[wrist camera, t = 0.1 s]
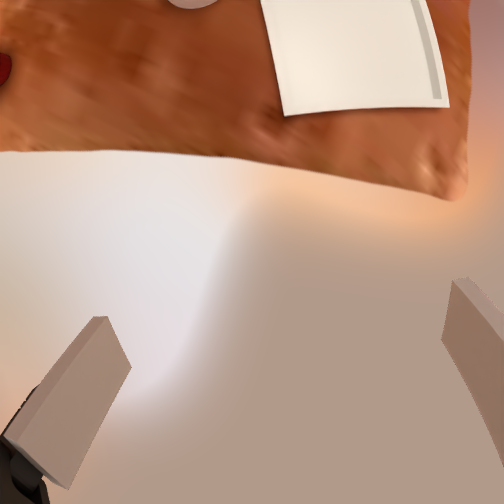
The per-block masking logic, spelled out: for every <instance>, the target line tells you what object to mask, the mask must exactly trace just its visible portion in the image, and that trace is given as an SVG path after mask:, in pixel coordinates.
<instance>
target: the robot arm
mask: <svg viewBox="0 0 504 504" xmlns="http://www.w3.org/2000/svg"><path fill="white" fill-rule="evenodd" d="M441 340H442V342H443V344H444V345H445V347H446V349H447V351H448V352H449V354H450V355H451V357H452V359H453V361H454V363H455V365H456V366H457V368H458V370H459V372H460V373H461V375H462V377H463V379H464V381H465V383H466V385H467V387H468V389H469V391H470V393H471V395H472V397H473V399H474V401H475V403H476V405H477V407H478V409H479V411H480V413H481V415H482V417H483V419H484V422H485V424H486V426H487V428H488V430H489V432H490V435H491V437H492V439H493V442H494V444H495V447H496V449H497V451H498V454H499V456H500V459H501V461H502V464H503V467H504V314H503V313H502V312H501V311H500V310H499V309H498V308H497V307H496V305H495V304H494V303H493V302H492V301H491V300H490V299H489V298H488V297H487V296H486V295H485V294H484V293H483V292H482V290H481V289H480V288H479V287H478V286H477V285H476V284H475V283H474V282H473V281H472V280H471V279H470V278H469V277H466V278H462V279H456V280H452V286H451V292H450V299H449V304H448V310H447V315H446V320H445V325H444V330H443V335H442V339H441ZM131 368H132V367H131V365H130V363H129V361H128V359H127V357H126V355H125V353H124V351H123V349H122V347H121V345H120V343H119V341H118V338H117V336H116V334H115V332H114V330H113V328H112V325H111V323H110V321H109V319H108V317H107V316H104V317H93V318H92V319H91V320H90V321H89V323H88V324H87V325H86V326H85V327H84V329H83V330H82V331H81V332H80V333H79V335H78V336H77V337H76V338H75V340H74V341H73V342H72V343H71V344H70V346H69V347H68V348H67V349H66V351H65V352H64V353H63V354H62V356H61V357H60V358H59V359H58V361H57V362H56V363H55V364H54V366H53V367H52V368H51V370H50V371H49V372H48V374H47V375H46V376H45V377H44V379H43V380H42V382H41V383H40V384H39V385H38V386H36V387H35V388H34V389H33V390H32V391H31V393H30V394H29V395H28V397H27V398H26V401H24V402H23V404H22V405H21V408H20V409H18V411H17V412H16V413H15V415H14V416H13V418H12V419H11V420H10V422H9V423H8V425H7V426H6V428H5V429H4V431H3V432H2V434H1V435H0V504H50V501H49V497H48V492H47V487H46V484H45V482H44V481H43V480H42V479H41V478H42V476H43V475H44V476H46V477H47V478H48V479H49V480H50V481H52V482H53V483H54V484H56V485H59V486H61V487H63V488H65V489H68V490H69V488H70V486H71V484H72V482H73V480H74V478H75V476H76V474H77V471H78V470H79V468H80V466H81V463H82V461H83V459H84V457H85V455H86V453H87V451H88V449H89V447H90V445H91V443H92V441H93V439H94V437H95V435H96V433H97V431H98V430H99V427H100V426H101V424H102V422H103V420H104V418H105V416H106V414H107V412H108V410H109V408H110V406H111V405H112V403H113V401H114V399H115V397H116V395H117V393H118V391H119V390H120V387H121V386H122V384H123V382H124V380H125V379H126V377H127V375H128V373H129V371H130V370H131Z"/></svg>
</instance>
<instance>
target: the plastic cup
mask: <svg viewBox="0 0 504 504" xmlns="http://www.w3.org/2000/svg"><path fill="white" fill-rule="evenodd" d="M10 71H11V59H10V57H9V56H7V55H6V54H3V53H0V85H2V84H3V83H4V82H5V81H6V80H7V78H8V76H9V73H10Z"/></svg>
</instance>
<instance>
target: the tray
mask: <svg viewBox="0 0 504 504" xmlns="http://www.w3.org/2000/svg"><path fill="white" fill-rule="evenodd" d="M260 2H261V6H262V10H263V15H264V19H265V23H266V28H267V32H268V37H269V42H270V46H271V51H272V56H273V61H274V66H275V71H276V76H277V81H278V86H279V91H280V97H281V102H282V108H283V113H284V117H286V116H294V115H302V114H311V113H320V112H330V111H342V110H356V109H375V108H450V106H449V99H448V92H447V86H446V80H445V75H444V70H443V65H442V60H441V55H440V51H439V47H438V43H437V39H436V35H435V31H434V27H433V24H432V20H431V17H430V14H429V10H428V7H427V4H426V1H425V0H260Z"/></svg>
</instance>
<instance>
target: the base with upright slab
mask: <svg viewBox="0 0 504 504" xmlns="http://www.w3.org/2000/svg"><path fill="white" fill-rule="evenodd" d="M168 1H169V2H170V3H172V4H174V5H175V6H177V7H181V8H187V9H195V8H201V7H204V6H207V5H210V4H212V3H214V2H216V1H217V0H168Z"/></svg>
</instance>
